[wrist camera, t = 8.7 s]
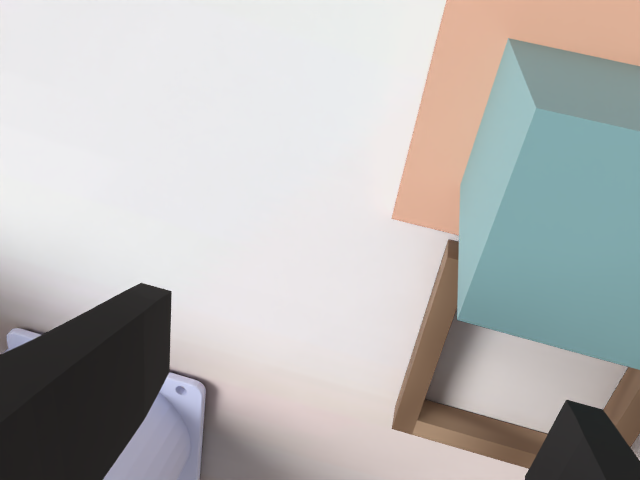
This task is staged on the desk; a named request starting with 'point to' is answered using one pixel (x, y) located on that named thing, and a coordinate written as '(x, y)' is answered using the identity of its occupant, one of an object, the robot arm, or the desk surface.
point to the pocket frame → (468, 428)
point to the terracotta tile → (477, 80)
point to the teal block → (555, 205)
